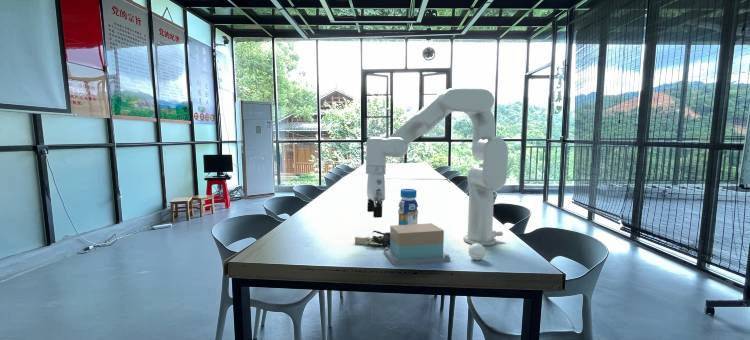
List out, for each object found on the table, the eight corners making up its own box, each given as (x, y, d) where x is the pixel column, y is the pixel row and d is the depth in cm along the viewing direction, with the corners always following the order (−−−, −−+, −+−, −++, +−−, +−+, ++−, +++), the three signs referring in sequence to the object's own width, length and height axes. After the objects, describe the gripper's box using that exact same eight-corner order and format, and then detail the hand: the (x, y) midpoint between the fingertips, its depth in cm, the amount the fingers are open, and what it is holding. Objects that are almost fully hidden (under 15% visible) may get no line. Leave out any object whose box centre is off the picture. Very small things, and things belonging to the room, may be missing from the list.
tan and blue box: (434, 248, 123) (434, 222, 122) (450, 260, 110) (451, 231, 109) (383, 252, 118) (383, 225, 117) (394, 265, 105) (394, 235, 104)
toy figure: (353, 248, 123) (392, 248, 122) (353, 231, 123) (392, 231, 122) (356, 244, 130) (393, 244, 129) (355, 229, 131) (392, 228, 129)
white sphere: (465, 259, 111) (466, 244, 110) (472, 255, 115) (472, 240, 115) (487, 265, 106) (488, 248, 106) (493, 260, 110) (494, 244, 110)
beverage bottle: (398, 232, 144) (399, 188, 142) (417, 233, 143) (418, 188, 141) (397, 238, 135) (397, 190, 134) (417, 239, 134) (418, 191, 132)
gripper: (391, 172, 115) (390, 219, 117) (379, 168, 132) (377, 209, 133) (371, 172, 113) (370, 220, 115) (361, 168, 130) (360, 210, 131)
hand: (374, 214), depth 124 cm, fingers open, 9 cm apart
